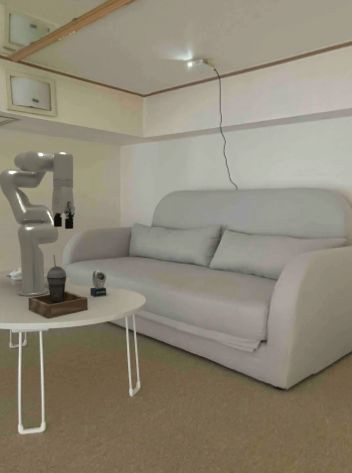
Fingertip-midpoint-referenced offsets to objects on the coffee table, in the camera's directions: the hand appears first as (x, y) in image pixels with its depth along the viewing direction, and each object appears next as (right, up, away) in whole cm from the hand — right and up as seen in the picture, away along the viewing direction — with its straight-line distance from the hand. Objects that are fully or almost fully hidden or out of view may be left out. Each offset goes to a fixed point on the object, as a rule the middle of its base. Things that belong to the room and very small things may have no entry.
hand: (63, 227), depth 148 cm
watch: (+10, -30, +18) cm, 36 cm away
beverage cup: (-1, -31, -5) cm, 31 cm away
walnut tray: (0, -32, -5) cm, 32 cm away
